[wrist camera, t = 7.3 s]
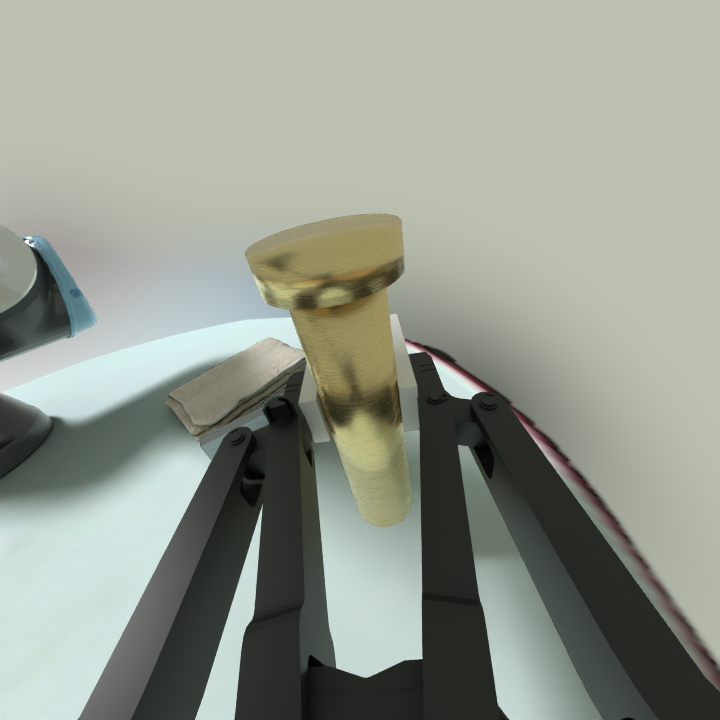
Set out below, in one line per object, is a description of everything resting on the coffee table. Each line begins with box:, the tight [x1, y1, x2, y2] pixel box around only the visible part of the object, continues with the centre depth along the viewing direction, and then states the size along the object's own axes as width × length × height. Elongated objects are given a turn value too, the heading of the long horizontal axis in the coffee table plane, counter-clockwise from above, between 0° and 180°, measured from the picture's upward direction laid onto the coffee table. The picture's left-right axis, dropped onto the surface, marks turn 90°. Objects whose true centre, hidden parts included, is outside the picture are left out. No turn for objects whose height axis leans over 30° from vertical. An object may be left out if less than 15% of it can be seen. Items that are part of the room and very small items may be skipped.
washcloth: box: [165, 338, 307, 441], centre depth 40 cm, size 12×18×3 cm, turn 138°
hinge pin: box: [245, 214, 412, 527], centre depth 14 cm, size 5×5×16 cm
